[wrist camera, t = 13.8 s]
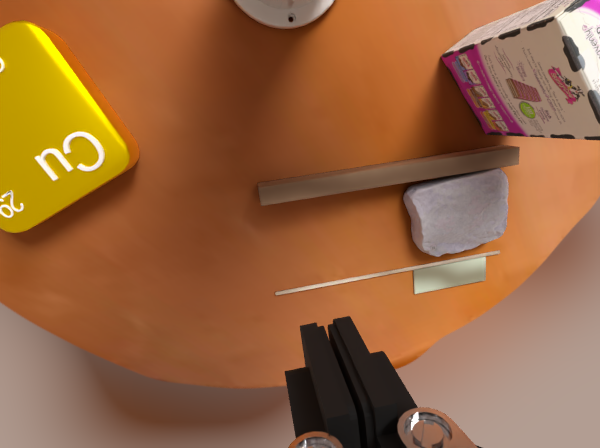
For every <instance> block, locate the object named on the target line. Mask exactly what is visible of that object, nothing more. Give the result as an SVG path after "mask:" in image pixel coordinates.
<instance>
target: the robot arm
mask: <svg viewBox="0 0 600 448" xmlns="http://www.w3.org/2000/svg"><path fill="white" fill-rule="evenodd" d="M234 2H235V3H236V4H237V6H238V7H239V8H240V9H241V10H242V11H243V12H245V13H246V14H247V15H248V16H249V17H251V18H252V19H254V20H256V21H257V22H259V23H261V24H264V25H266V26H269V27H273V28H279V29H293V28H298V27H301V26H305V25H307V24H309V23H311V22H313V21H315V20H316V19H318V18H319V17H320V16H321V15H322V14H324V13H325V12H326V11H327V9H328V8H329V7H330V6H331V5H332V3H333V2H334V0H234ZM290 17H291V18H292V19H293V22H289V20H288V18H290ZM300 331H301V338H302V345H303V352H304V358H305V365H306V367H304V368H299V369H294V370H289V371H285V376H286V382H287V388H288V394H289V400H290V406H291V411H292V418H293V424H294V430H295V436H296V439H295V440H294V441H293V442H292V443H291V444H290V446H289V447H288V448H481V447H479V446H476V445H475V444H474V443H473V442H472V441H471V440H470V439H469V438H468V437H467V435H466V434H465V433H464V432H463V431H462V430H461V429H460V428H459V427H458V426H457V425H456V424H455V422H454V421H453V420H452V419H451V418H449V417H448V416H447V415H446V414H444V413H442V412H440V411H438V410H435V409H431V408H421V407H420V408H418V407H417V405H416V404H415V403H414V400H413V399H412V397H411V396H410V394H409V392H408V391H407V389H406V387H405V386H404V384H403V382H402V381H401V379H400V377H399V376H398V374H397V372H396V371H395V369H394V367H393V366H392V364H391V362H390V361H389V359H388V357H387V356H386V354H385V353H384V352H383V351H380V352H375V353H371V354H370V353H369V351H368V349H367V347H366V345H365V343H364V341H363V340H362V338H361V336H360V334H359V332H358V330H357V329H356V327H355V325H354V323H353V321H352V319H351V318H350V316H347V317H342V318H337V319H333V324H330V325H328V333H329V339H328V336H327V334H326V331H325V329H324V326H320V327H318V326H317V323H312V324H307V325H302V326H300Z"/></svg>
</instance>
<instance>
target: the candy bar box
mask: <svg viewBox="0 0 600 448" xmlns="http://www.w3.org/2000/svg"><path fill="white" fill-rule="evenodd" d="M441 58H442V60H443V62H444V63H445V65H446V67H447V69H448V70H449V72H450V74H451V75H452V77H453V79H454V80H455V82H456V84H457V85H458V87H459V89H460V90H461V92H462V94H463V95H464V97H465V99H466V101H467V102H468V104H469V106H470V108H471V109H472V111H473V113H474V115H475V116H476V118H477V120H478V121H479V123H480V125H481V127H482V128H483V130H484V132H485V134H486V135H504V136H526V137H545V138H563V139H585V140H600V0H547V1H544V2H542V3H539V4H537V5H535V6H532V7H529V8H527V9H524V10H521V11H519V12H516V13H514V14H512V15H509V16H507V17H504V18H502V19H499V20H497V21H494V22H491V23H489V24H487V25H484V26H482V27H479V28H477V29H474V30H473V31H471V32H470V33H469V34H468V35H466V36H465V37H464V38H463V39H462V40H460V41H459V42H458V43H457V44H455V45H454V46H453V47H451V48H450V49H449V50H448V51H446V52H445V53H444V54H442V55H441Z"/></svg>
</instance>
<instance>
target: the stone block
mask: <svg viewBox="0 0 600 448" xmlns="http://www.w3.org/2000/svg"><path fill="white" fill-rule="evenodd" d="M507 198H508V180H507V176H506V174H505V173H504V172H503V171H502V170H501V169H500V168H494V169H487V170H481V171H475V172H469V173H463V174H456V175H450V176H444V177H440V178H436V179H433V180H430V181H426V182H422V183H418V184H415V185H412V186H410V187H408V189H407V190H406V192H405V193H404V197H403V200H404V203H405V205H406V208H407V210H408V213H409V215H410V217H411V232H412V239H413V241H414V243H415V244H416V245H417V247H418V248H419V249H420V250H421V251H422V252H425V253H427V254H429V255H433V256H436V257H437V256H441V255H443V254H445V253H451V254H453V253H459V252H461V251H464V250H468V249H472V248H474V247H477V246H479V245H480V244H483V243H484V244H485V243H487V242H489V241H492V240H494V239H497V238H499V237H500V236H502V235H503V232H504V231H505V229H506V226H507V225H506V224H507V222H506V221H507V213H508V204H507Z"/></svg>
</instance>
